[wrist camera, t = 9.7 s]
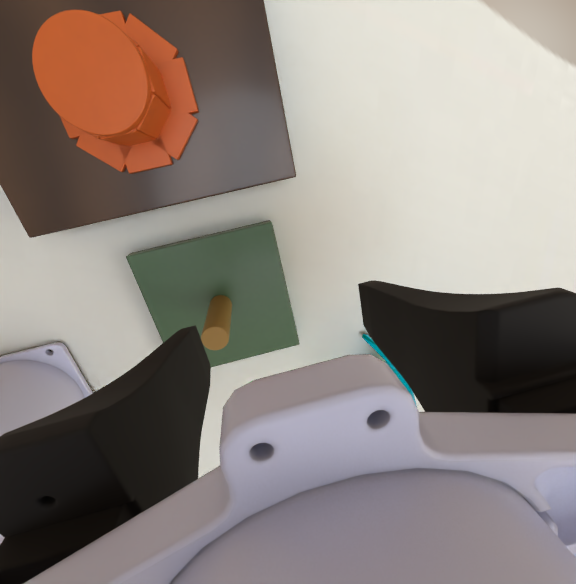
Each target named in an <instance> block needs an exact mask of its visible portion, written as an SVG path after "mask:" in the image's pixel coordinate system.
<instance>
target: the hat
mask: <svg viewBox="0 0 576 584" xmlns="http://www.w3.org/2000/svg"><path fill="white" fill-rule="evenodd" d="M177 54H178V50H177V48H176V47H174V46H173V45H172V44H170V43H169V42H168V41H166V40H165V39H164V38H162V37H161V36H160V35H158V34H157V33H156V32H154V31H153V30H152V29H150V28H149V27H148V26H147V25H145V24H144V23H143V22H141V21H140V20H139V19H137V18H136V17H135V16H133V15H132V14H131V13H130V14H129V16H128V18H127V21H126V20H125V17H124V15H123V13H122V12H121V11H115V12H110V13H104V14H96V13H93V12H90V11H85V10H75V9H74V10H66V11H62V12H59V13H57V14H55V15H53V16H51V17H50V18H49V19H47V20H46V21H45V22H44V23H43V25H42V26H41V27H40V29H39V30H38V32H37V35H36V37H35V40H34V44H33V51H32V63H33V70H34V74H35V77H36V80H37V83H38V86H39V88H40V90H41V92H42V94H43V96H44V97H45V99H46V100H47V102H48V103H49V104H50V106H51V107H52V108H53V109H54V110H55V112H56V113H57V114H58V115H59V116H60V118H61V120H62V122H63V125H64V127H65V129H66V131H67V134H68V136H69V138H70V139H77V138H79V139H78V142H77V144H76V146H77V147H79V148H81V149H83V150H84V151H86V152H88V153H89V154H91V155H93V156H94V157H96V158H98V159H100V160H101V161H103V162H105V163H106V164H108V165H110V166H111V167H113V168H115V169H117V170H118V171H120V172H124V171H125V168H126V167H127V170H128V172H129V174H133V173H137V172H142V171H146V170H151V169H155V168H160V167H164V166H168V165H173V162H172V159H171V156H172V157H174V158H175V159H177V160H179V158H180V156H181V154H182V152H183V150H184V148H185V146H186V144H187V142H188V140H189V138H190V136H191V134H192V132H193V130H194V128H195V126H196V124H197V122H198V119H197V118H195V117H194V116H192V115H191V114H193V113H198V112H199V110H198V107H197V103H196V100H195V96H194V93H193V89H192V86H191V82H190V78H189V75H188V71H187V68H186V64H185V61H184V59H183V57H181V58H176V56H177Z"/></svg>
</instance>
